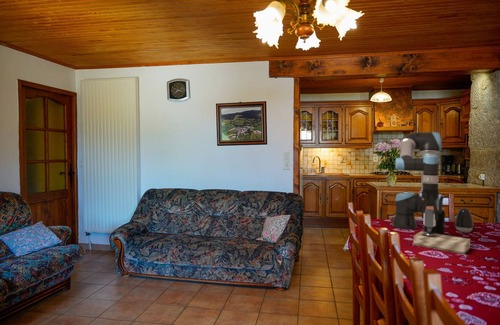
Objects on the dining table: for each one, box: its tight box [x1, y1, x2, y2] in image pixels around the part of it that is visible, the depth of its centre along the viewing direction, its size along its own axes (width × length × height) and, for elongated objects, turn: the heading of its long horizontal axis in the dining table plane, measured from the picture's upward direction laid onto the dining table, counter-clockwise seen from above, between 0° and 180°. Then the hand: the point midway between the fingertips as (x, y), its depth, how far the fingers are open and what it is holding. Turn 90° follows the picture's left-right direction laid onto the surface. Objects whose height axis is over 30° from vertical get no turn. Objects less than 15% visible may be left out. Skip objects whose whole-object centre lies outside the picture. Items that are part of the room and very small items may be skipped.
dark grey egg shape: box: [454, 207, 474, 233], centre depth 211 cm, size 10×10×15 cm
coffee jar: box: [423, 206, 446, 235], centre depth 197 cm, size 11×11×18 cm
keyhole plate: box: [412, 230, 471, 255], centre depth 178 cm, size 24×14×5 cm, turn 47°
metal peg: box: [423, 209, 435, 237], centre depth 182 cm, size 5×5×14 cm
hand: (429, 225), depth 182 cm, fingers closed on metal peg, 4 cm apart
